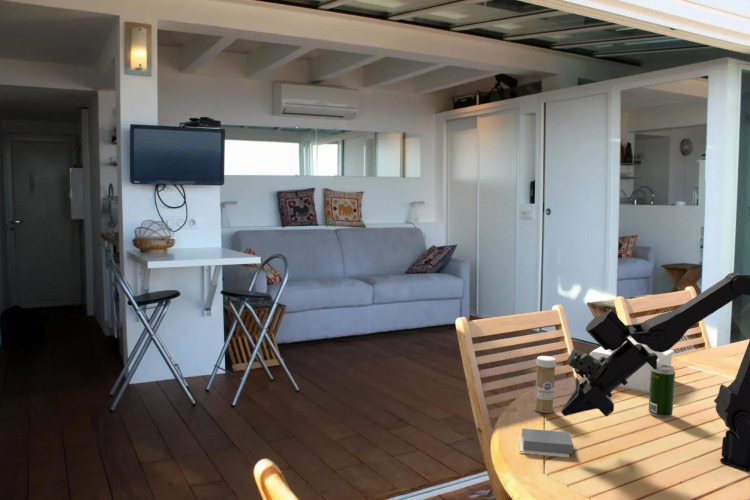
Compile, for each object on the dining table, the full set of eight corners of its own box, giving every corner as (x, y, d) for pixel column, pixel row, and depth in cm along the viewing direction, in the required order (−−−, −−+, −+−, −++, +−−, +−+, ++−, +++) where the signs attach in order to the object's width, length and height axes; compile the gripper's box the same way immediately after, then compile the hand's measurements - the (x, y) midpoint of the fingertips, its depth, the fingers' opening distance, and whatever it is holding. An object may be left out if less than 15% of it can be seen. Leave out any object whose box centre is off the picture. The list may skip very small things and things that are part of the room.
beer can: (663, 420, 163) (666, 371, 162) (643, 413, 167) (646, 365, 166) (676, 416, 166) (680, 368, 164) (657, 409, 170) (660, 362, 169)
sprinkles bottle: (540, 414, 165) (543, 360, 164) (530, 408, 169) (533, 355, 168) (557, 412, 166) (559, 359, 165) (547, 406, 171) (549, 354, 169)
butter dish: (610, 368, 207) (613, 317, 206) (672, 380, 196) (675, 326, 194) (587, 381, 194) (590, 326, 192) (652, 394, 182) (656, 337, 181)
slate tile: (569, 432, 147) (522, 428, 149) (573, 444, 140) (523, 440, 142) (568, 441, 147) (521, 437, 149) (572, 454, 140) (523, 450, 142)
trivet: (564, 442, 148) (564, 440, 148) (568, 457, 140) (569, 455, 140) (518, 438, 150) (518, 436, 150) (519, 453, 142) (519, 450, 142)
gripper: (586, 327, 150) (533, 373, 153) (599, 348, 132) (539, 400, 135) (621, 364, 149) (567, 409, 153) (639, 390, 131) (578, 441, 134)
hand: (562, 413), depth 143 cm, fingers closed
